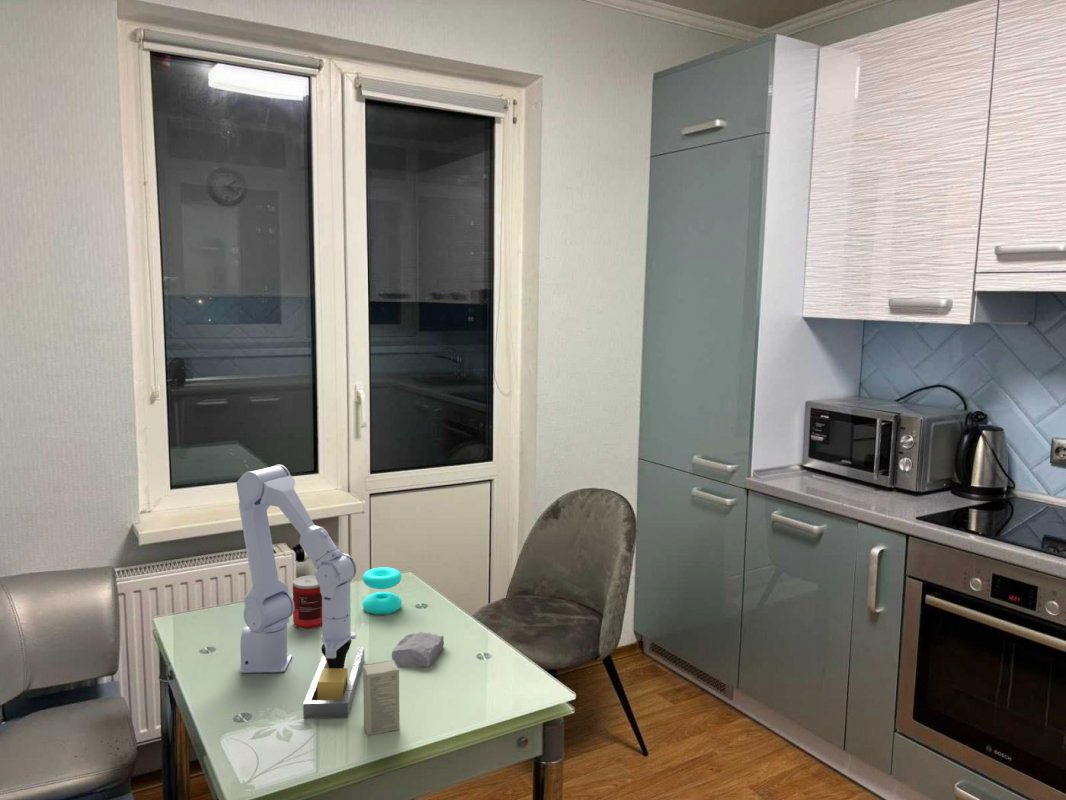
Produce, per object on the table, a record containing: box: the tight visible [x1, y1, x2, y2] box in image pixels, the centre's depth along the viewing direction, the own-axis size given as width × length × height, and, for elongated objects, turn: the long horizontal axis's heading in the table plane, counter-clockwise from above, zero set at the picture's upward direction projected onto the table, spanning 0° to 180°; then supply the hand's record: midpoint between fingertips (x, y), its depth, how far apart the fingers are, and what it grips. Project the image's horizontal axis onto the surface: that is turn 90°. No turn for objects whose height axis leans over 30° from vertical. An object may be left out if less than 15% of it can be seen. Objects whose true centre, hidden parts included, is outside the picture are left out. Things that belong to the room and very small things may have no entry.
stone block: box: [391, 632, 445, 668], centre depth 182 cm, size 12×5×10 cm
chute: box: [302, 646, 365, 719], centre depth 166 cm, size 8×25×3 cm, turn 5°
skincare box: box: [362, 659, 401, 736], centre depth 151 cm, size 6×4×12 cm
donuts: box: [362, 566, 402, 615], centre depth 209 cm, size 10×10×10 cm
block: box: [317, 667, 348, 701], centre depth 162 cm, size 5×6×4 cm
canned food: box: [292, 574, 322, 630], centre depth 198 cm, size 8×8×11 cm
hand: (336, 676), depth 167 cm, fingers closed
